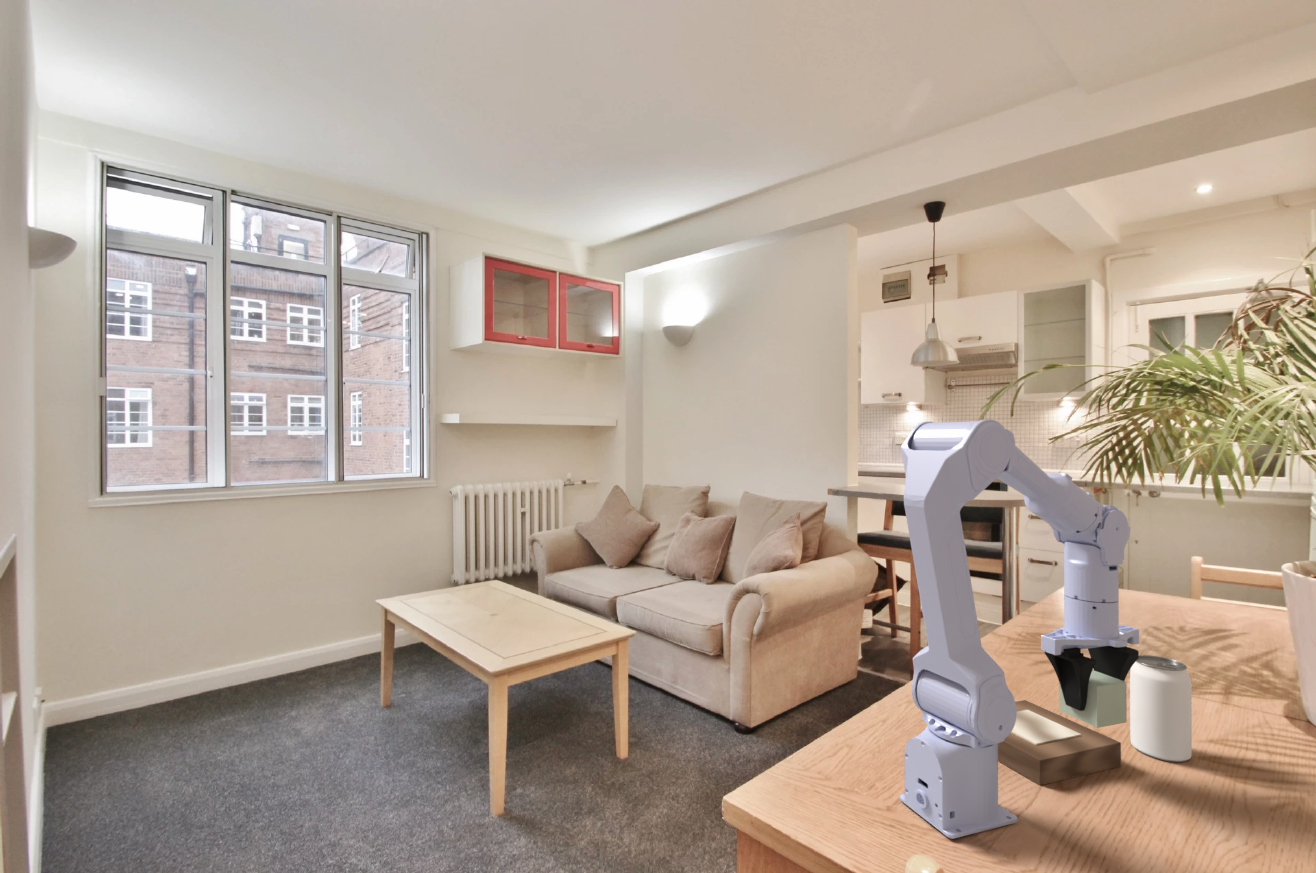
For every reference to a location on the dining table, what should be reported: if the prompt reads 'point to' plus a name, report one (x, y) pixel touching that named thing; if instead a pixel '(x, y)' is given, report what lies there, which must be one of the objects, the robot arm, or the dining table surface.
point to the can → (1161, 708)
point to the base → (1055, 747)
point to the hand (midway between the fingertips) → (1091, 704)
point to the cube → (1100, 702)
